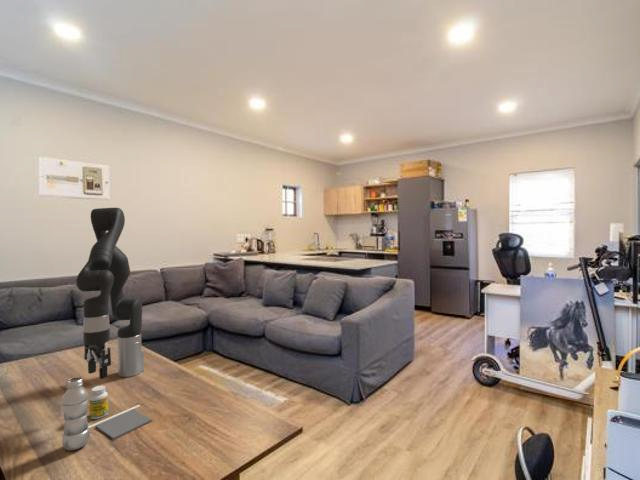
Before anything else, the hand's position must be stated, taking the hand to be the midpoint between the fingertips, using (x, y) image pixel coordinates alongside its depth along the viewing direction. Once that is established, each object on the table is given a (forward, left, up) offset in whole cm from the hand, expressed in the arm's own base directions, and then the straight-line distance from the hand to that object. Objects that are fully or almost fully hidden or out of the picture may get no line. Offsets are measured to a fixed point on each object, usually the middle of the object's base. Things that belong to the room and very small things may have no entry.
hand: (97, 375), depth 116 cm
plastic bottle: (+11, +13, -14) cm, 23 cm away
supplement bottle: (0, 0, -14) cm, 14 cm away
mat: (-2, +13, -14) cm, 19 cm away
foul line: (-1, +5, -14) cm, 15 cm away
